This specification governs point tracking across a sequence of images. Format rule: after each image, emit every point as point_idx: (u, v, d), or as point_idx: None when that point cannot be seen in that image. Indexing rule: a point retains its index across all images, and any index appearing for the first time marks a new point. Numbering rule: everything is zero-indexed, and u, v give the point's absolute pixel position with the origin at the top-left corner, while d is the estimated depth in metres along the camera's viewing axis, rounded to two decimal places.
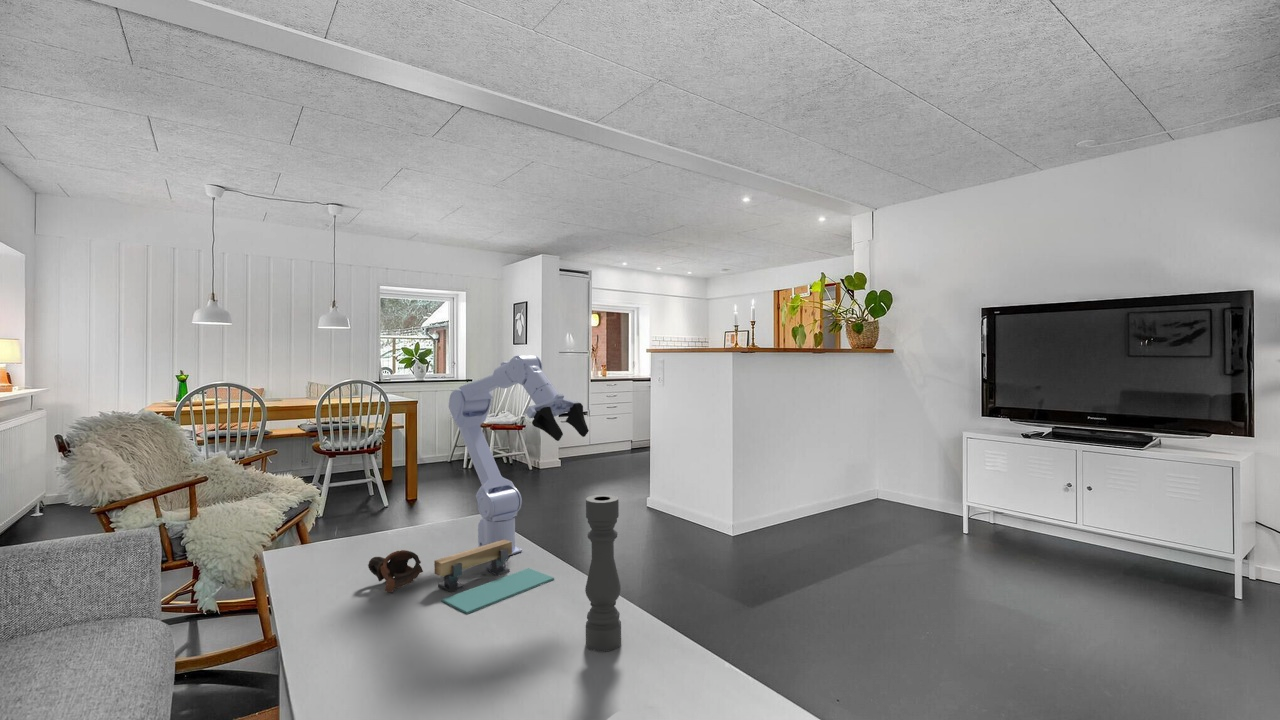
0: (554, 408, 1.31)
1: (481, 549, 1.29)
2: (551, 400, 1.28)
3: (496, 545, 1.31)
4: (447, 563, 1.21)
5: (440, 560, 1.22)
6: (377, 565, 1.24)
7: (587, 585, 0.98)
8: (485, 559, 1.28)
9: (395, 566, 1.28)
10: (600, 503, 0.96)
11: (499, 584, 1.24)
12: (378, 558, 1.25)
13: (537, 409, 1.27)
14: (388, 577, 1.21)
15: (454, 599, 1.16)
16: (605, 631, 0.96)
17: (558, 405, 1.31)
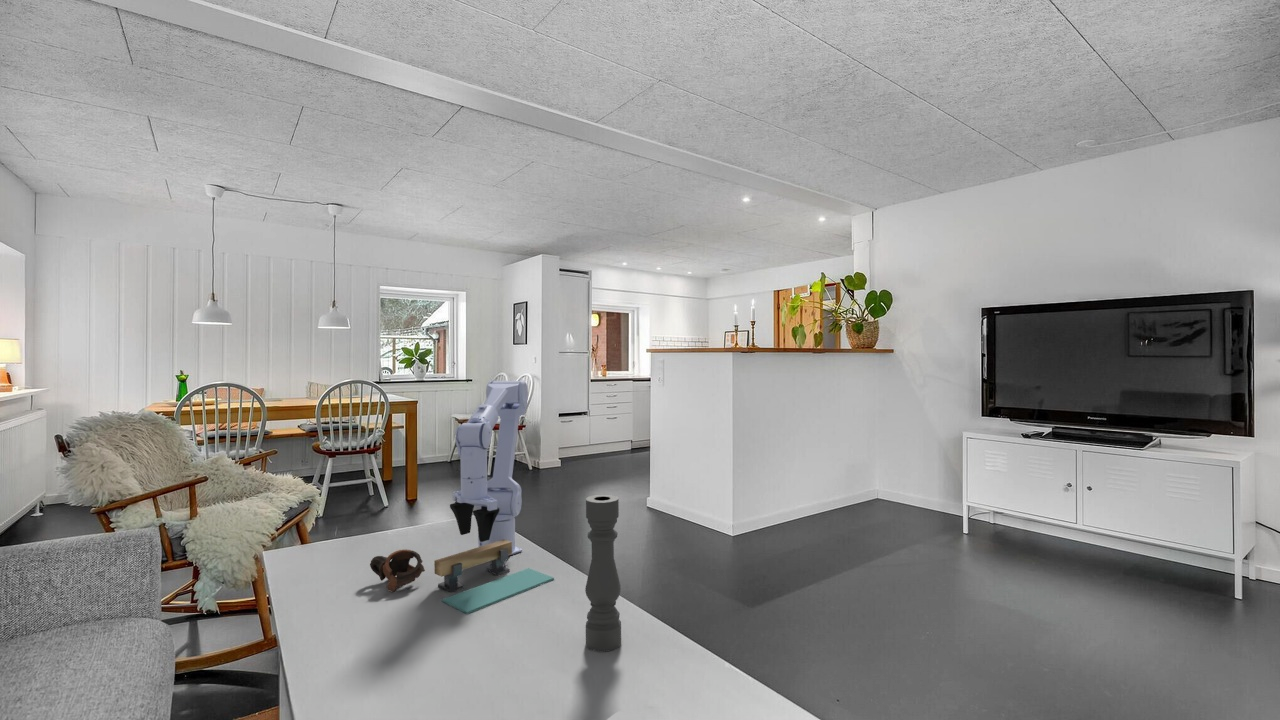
0: None
1: (481, 549, 1.29)
2: None
3: (496, 545, 1.31)
4: (447, 563, 1.21)
5: (440, 560, 1.22)
6: (379, 564, 1.24)
7: (587, 585, 0.98)
8: (485, 559, 1.28)
9: (397, 565, 1.29)
10: (600, 503, 0.96)
11: (499, 584, 1.24)
12: (380, 557, 1.25)
13: None
14: (390, 576, 1.21)
15: (454, 599, 1.16)
16: (605, 631, 0.96)
17: None
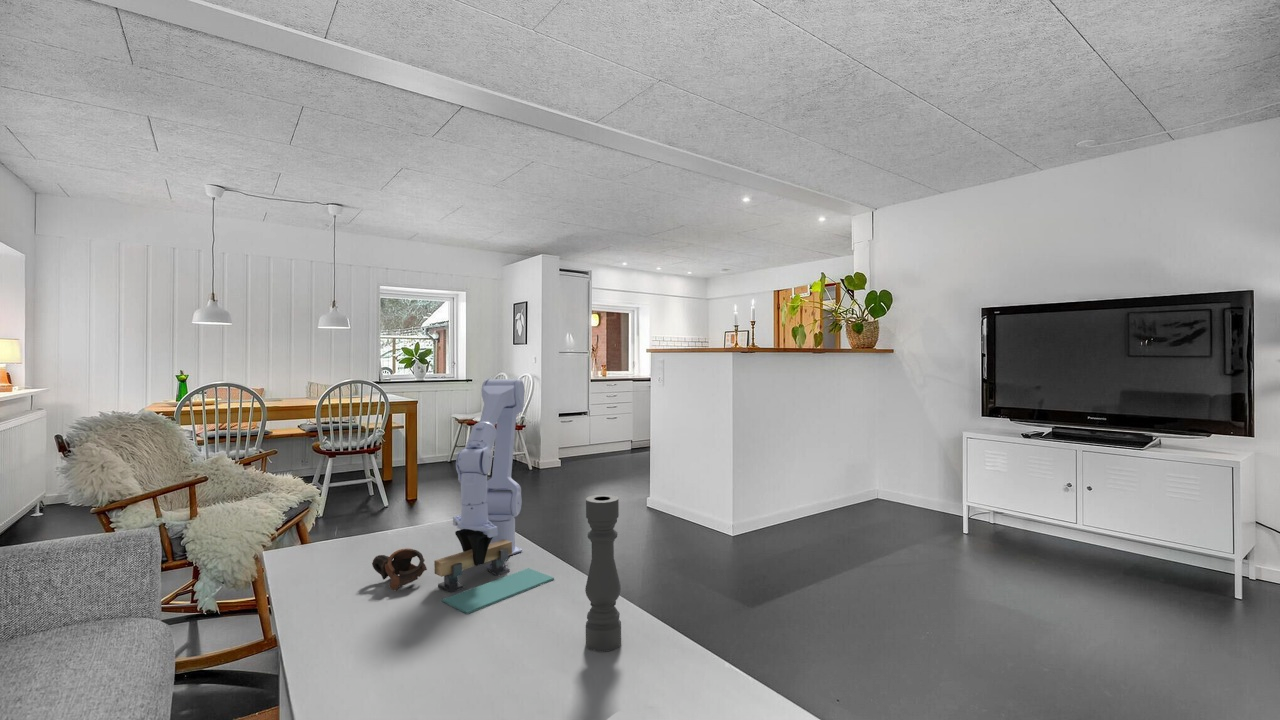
0: None
1: None
2: None
3: (496, 545, 1.31)
4: (447, 563, 1.21)
5: (440, 560, 1.22)
6: (381, 563, 1.25)
7: (587, 585, 0.98)
8: (485, 559, 1.28)
9: (399, 564, 1.29)
10: (600, 503, 0.96)
11: (499, 584, 1.24)
12: (382, 556, 1.26)
13: None
14: (393, 575, 1.22)
15: (454, 599, 1.16)
16: (605, 631, 0.96)
17: None
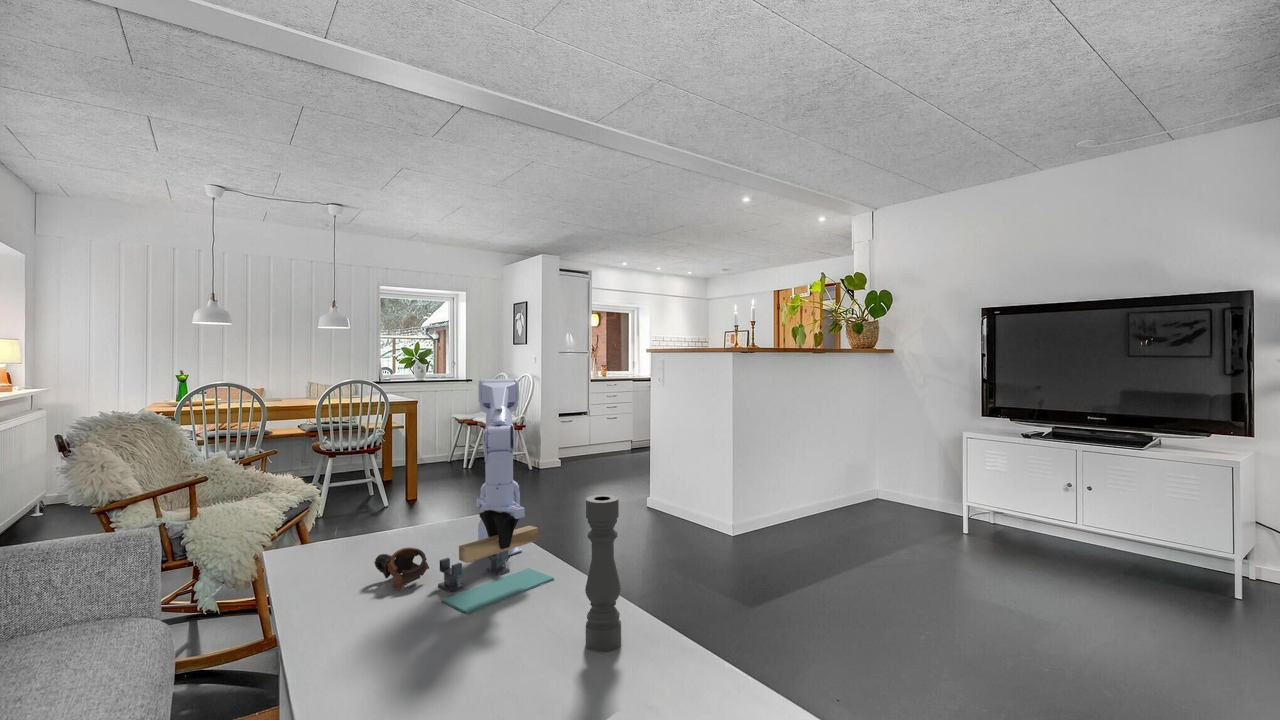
0: None
1: None
2: None
3: (522, 531, 1.25)
4: (472, 549, 1.15)
5: (465, 546, 1.16)
6: (384, 562, 1.26)
7: (587, 585, 0.98)
8: (511, 545, 1.22)
9: (401, 563, 1.30)
10: (600, 503, 0.96)
11: (499, 584, 1.24)
12: (384, 555, 1.27)
13: (483, 503, 1.25)
14: (395, 574, 1.22)
15: (454, 599, 1.16)
16: (605, 631, 0.96)
17: None
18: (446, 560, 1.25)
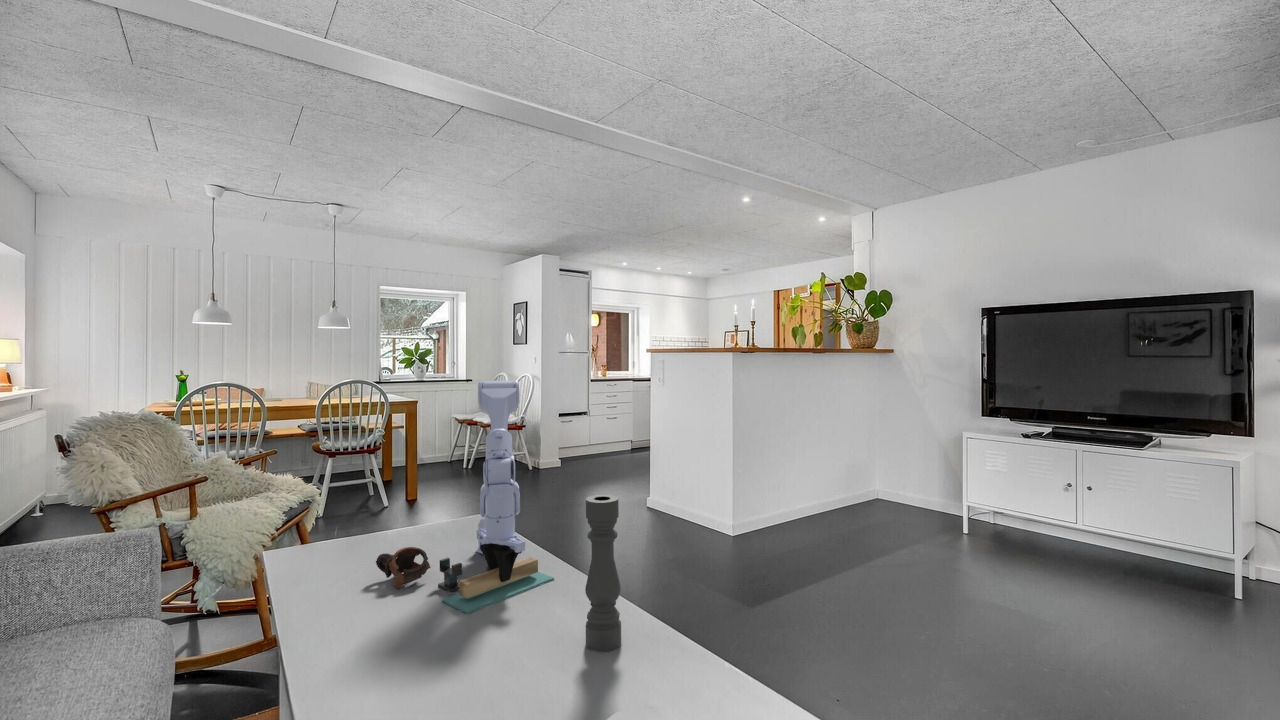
0: None
1: None
2: (484, 538, 1.21)
3: (522, 563, 1.25)
4: (473, 584, 1.15)
5: (465, 581, 1.16)
6: (385, 562, 1.26)
7: (587, 585, 0.98)
8: (511, 578, 1.22)
9: (402, 563, 1.30)
10: (600, 503, 0.96)
11: None
12: (386, 555, 1.27)
13: None
14: (397, 573, 1.23)
15: (454, 599, 1.16)
16: (605, 631, 0.96)
17: None
18: (446, 560, 1.25)
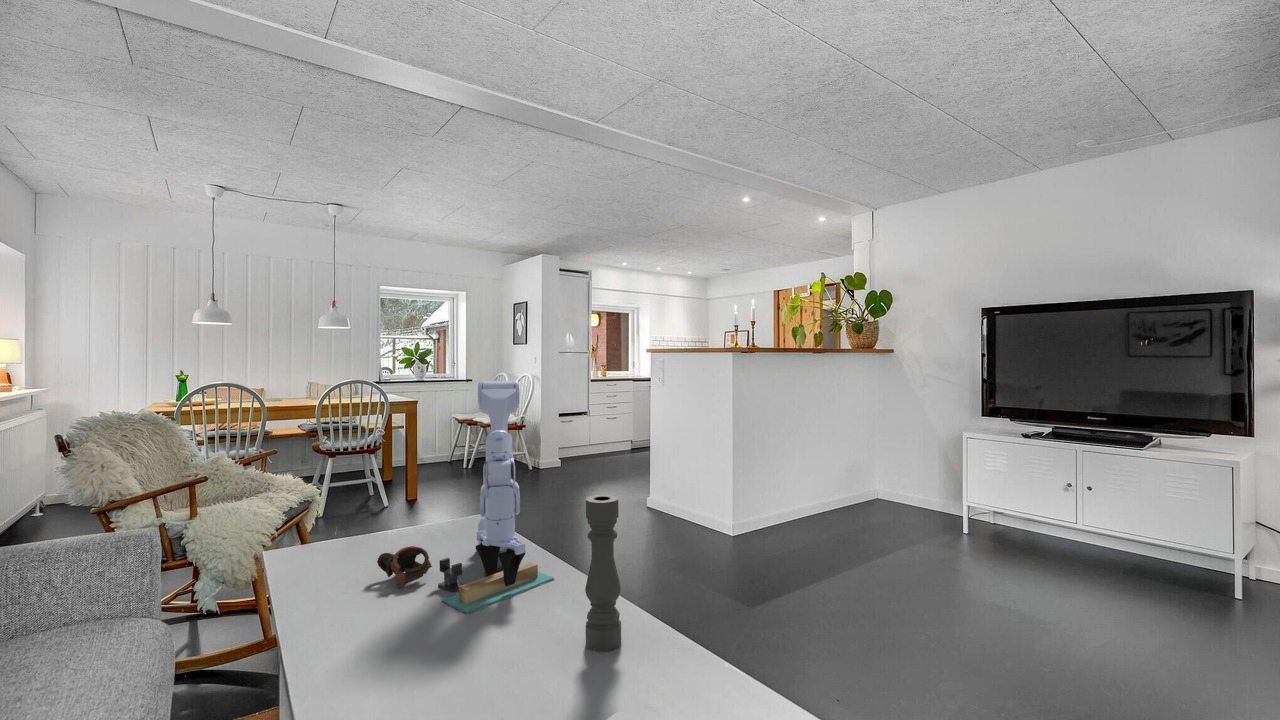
0: None
1: None
2: (484, 540, 1.21)
3: (522, 568, 1.25)
4: (472, 589, 1.15)
5: (465, 586, 1.16)
6: (387, 561, 1.26)
7: (587, 585, 0.98)
8: None
9: (403, 562, 1.31)
10: (600, 503, 0.96)
11: None
12: (387, 554, 1.27)
13: None
14: (399, 572, 1.23)
15: (454, 599, 1.16)
16: (605, 631, 0.96)
17: None
18: (446, 560, 1.25)
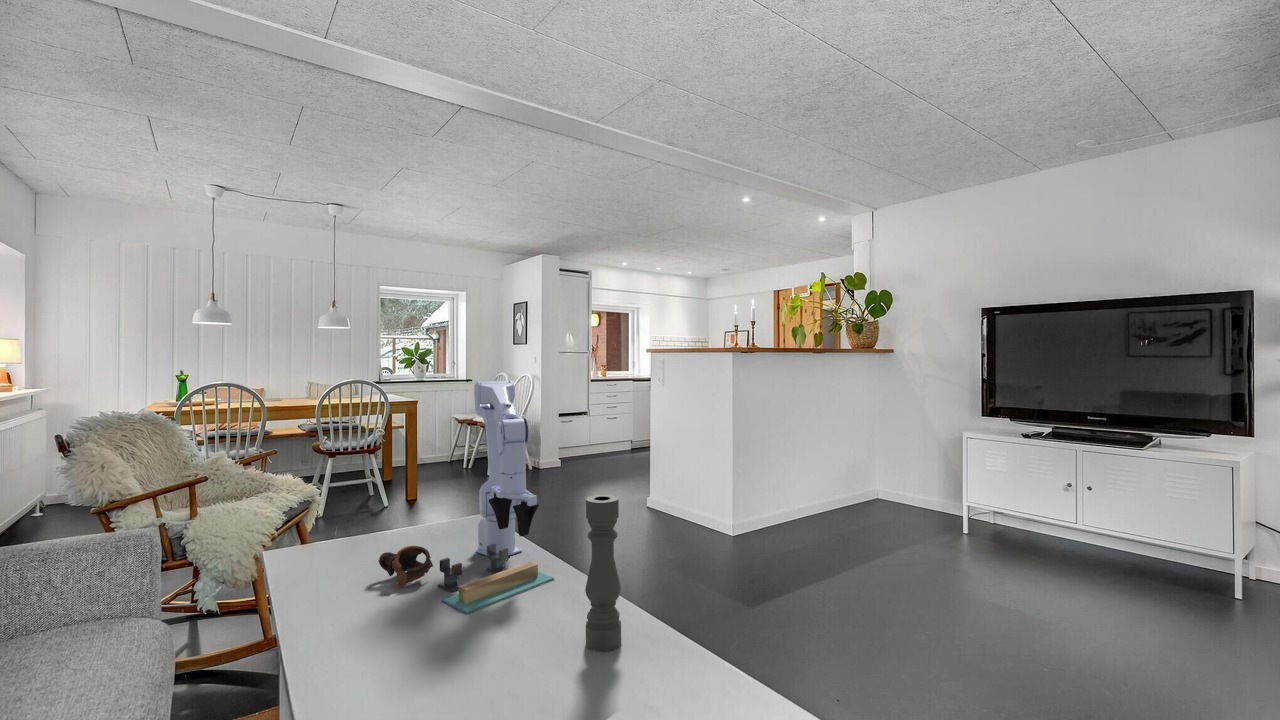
0: None
1: (506, 573, 1.22)
2: None
3: (522, 568, 1.25)
4: (472, 589, 1.15)
5: (465, 586, 1.16)
6: (388, 560, 1.27)
7: (587, 585, 0.98)
8: (511, 583, 1.22)
9: (404, 561, 1.31)
10: (600, 503, 0.96)
11: None
12: (389, 554, 1.28)
13: None
14: (400, 572, 1.24)
15: (454, 599, 1.16)
16: (605, 631, 0.96)
17: None
18: (446, 560, 1.25)
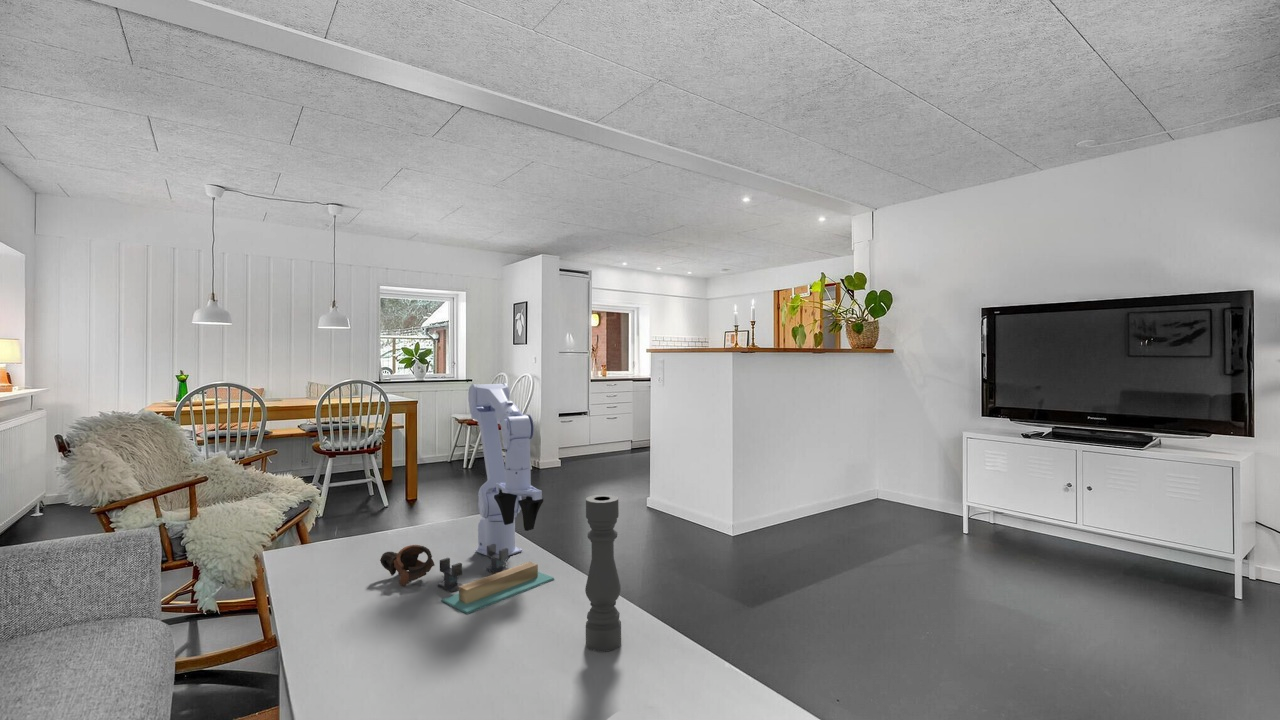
0: None
1: (506, 573, 1.22)
2: (503, 489, 1.31)
3: (522, 568, 1.25)
4: (472, 589, 1.15)
5: (465, 586, 1.16)
6: (390, 560, 1.27)
7: (587, 585, 0.98)
8: (511, 583, 1.22)
9: (406, 561, 1.32)
10: (600, 503, 0.96)
11: None
12: (390, 553, 1.28)
13: None
14: (402, 571, 1.24)
15: (454, 599, 1.16)
16: (605, 631, 0.96)
17: None
18: (446, 560, 1.25)
